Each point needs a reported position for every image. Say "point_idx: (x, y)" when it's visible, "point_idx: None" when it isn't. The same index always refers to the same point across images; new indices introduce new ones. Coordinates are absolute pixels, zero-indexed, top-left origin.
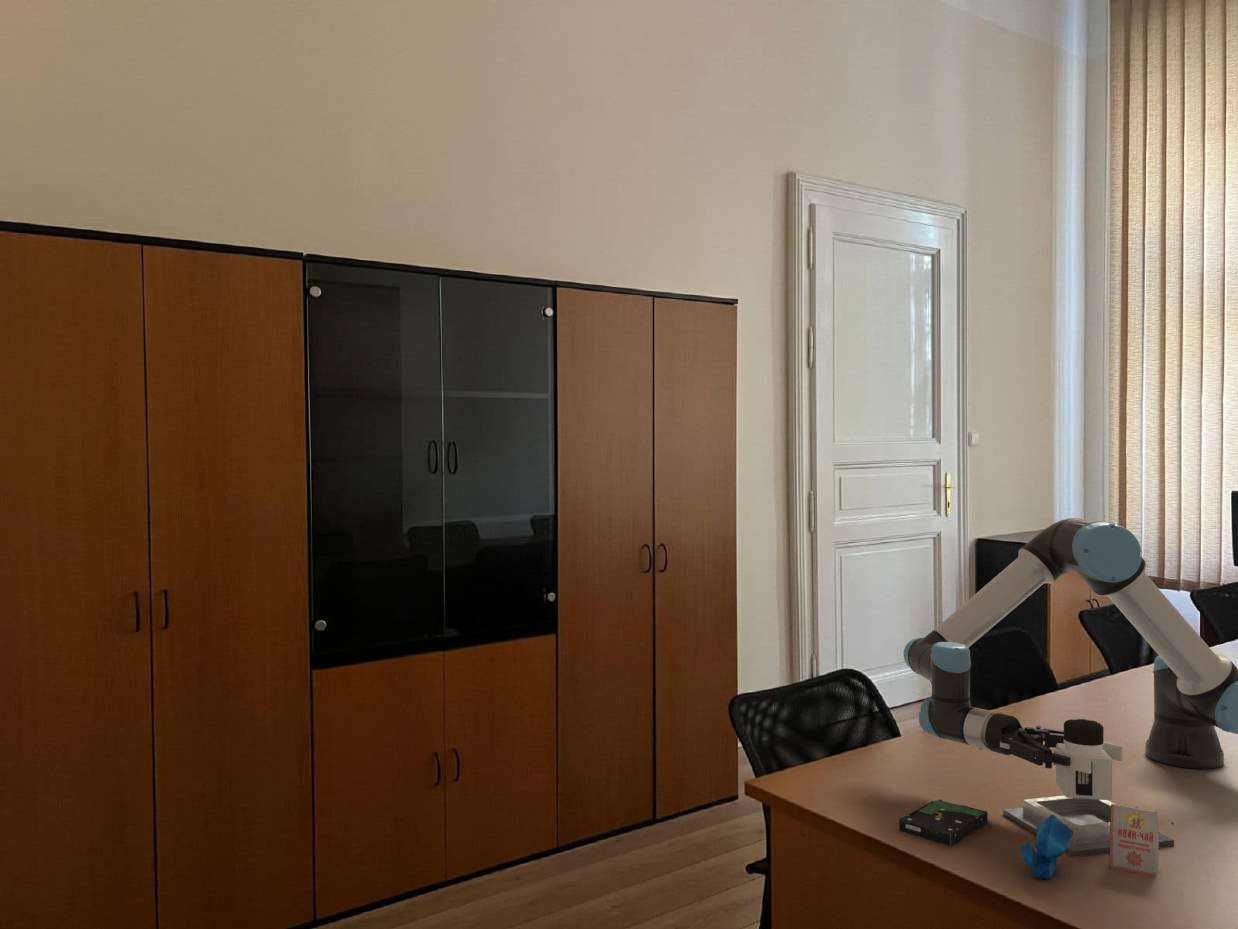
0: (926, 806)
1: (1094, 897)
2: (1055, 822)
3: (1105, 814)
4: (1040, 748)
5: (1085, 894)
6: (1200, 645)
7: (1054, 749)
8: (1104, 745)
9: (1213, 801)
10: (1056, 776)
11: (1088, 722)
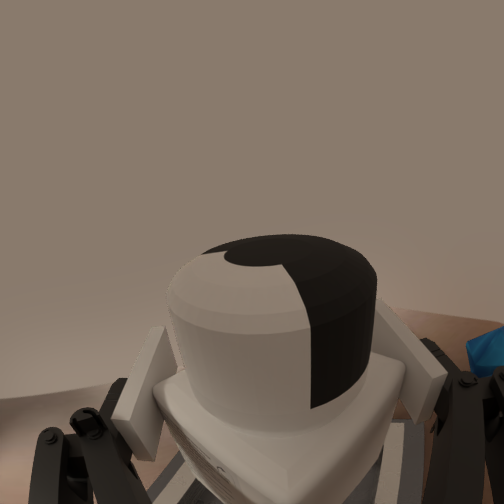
0: None
1: (459, 343)
2: (497, 329)
3: (194, 500)
4: (481, 416)
5: (465, 348)
6: None
7: (443, 372)
8: (154, 369)
9: (7, 409)
10: None
11: (270, 240)
